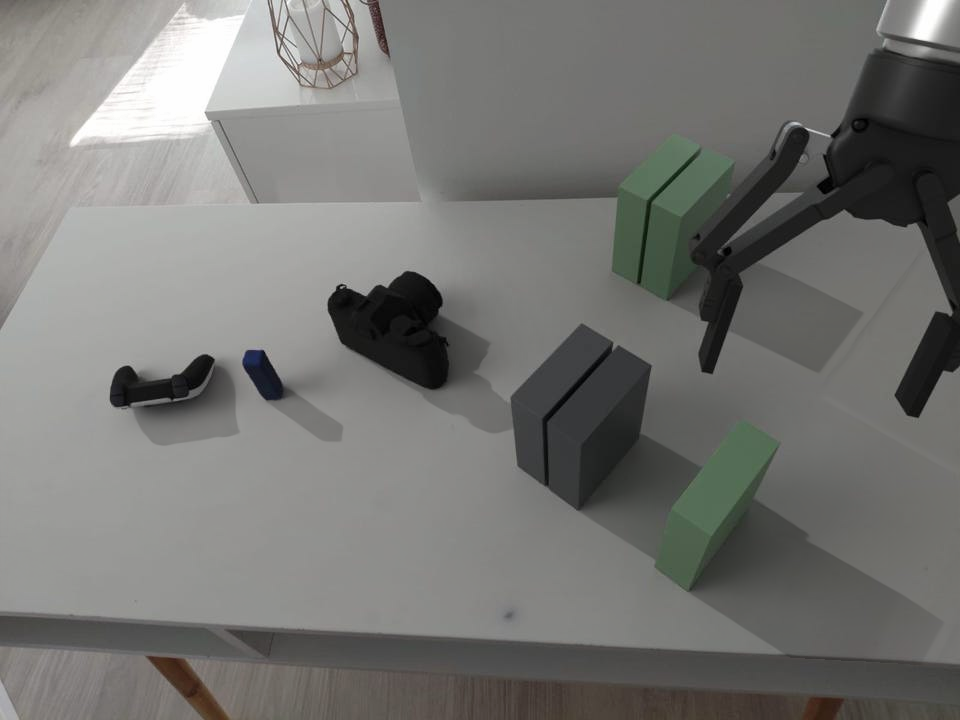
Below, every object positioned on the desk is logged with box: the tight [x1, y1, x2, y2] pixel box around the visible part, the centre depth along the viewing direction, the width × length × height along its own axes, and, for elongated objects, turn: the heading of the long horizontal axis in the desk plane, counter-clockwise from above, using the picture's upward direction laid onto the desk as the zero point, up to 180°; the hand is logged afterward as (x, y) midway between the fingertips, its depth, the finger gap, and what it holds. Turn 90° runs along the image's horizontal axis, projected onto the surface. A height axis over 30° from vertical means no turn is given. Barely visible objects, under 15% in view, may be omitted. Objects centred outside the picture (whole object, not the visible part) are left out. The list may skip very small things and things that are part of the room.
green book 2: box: [640, 148, 736, 301], centre depth 82 cm, size 4×10×13 cm, turn 139°
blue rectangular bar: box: [241, 349, 284, 401], centre depth 80 cm, size 2×2×7 cm
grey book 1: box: [509, 322, 614, 487], centre depth 71 cm, size 4×10×13 cm, turn 138°
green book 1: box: [611, 133, 703, 285], centre depth 84 cm, size 4×10×13 cm, turn 139°
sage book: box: [653, 418, 782, 592], centre depth 64 cm, size 4×10×13 cm, turn 138°
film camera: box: [326, 270, 450, 390], centre depth 81 cm, size 15×10×9 cm, turn 56°
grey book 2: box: [547, 345, 653, 511], centre depth 69 cm, size 4×10×13 cm, turn 138°
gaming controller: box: [109, 353, 216, 410], centre depth 82 cm, size 11×4×7 cm
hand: (804, 385), depth 52 cm, fingers open, 13 cm apart
